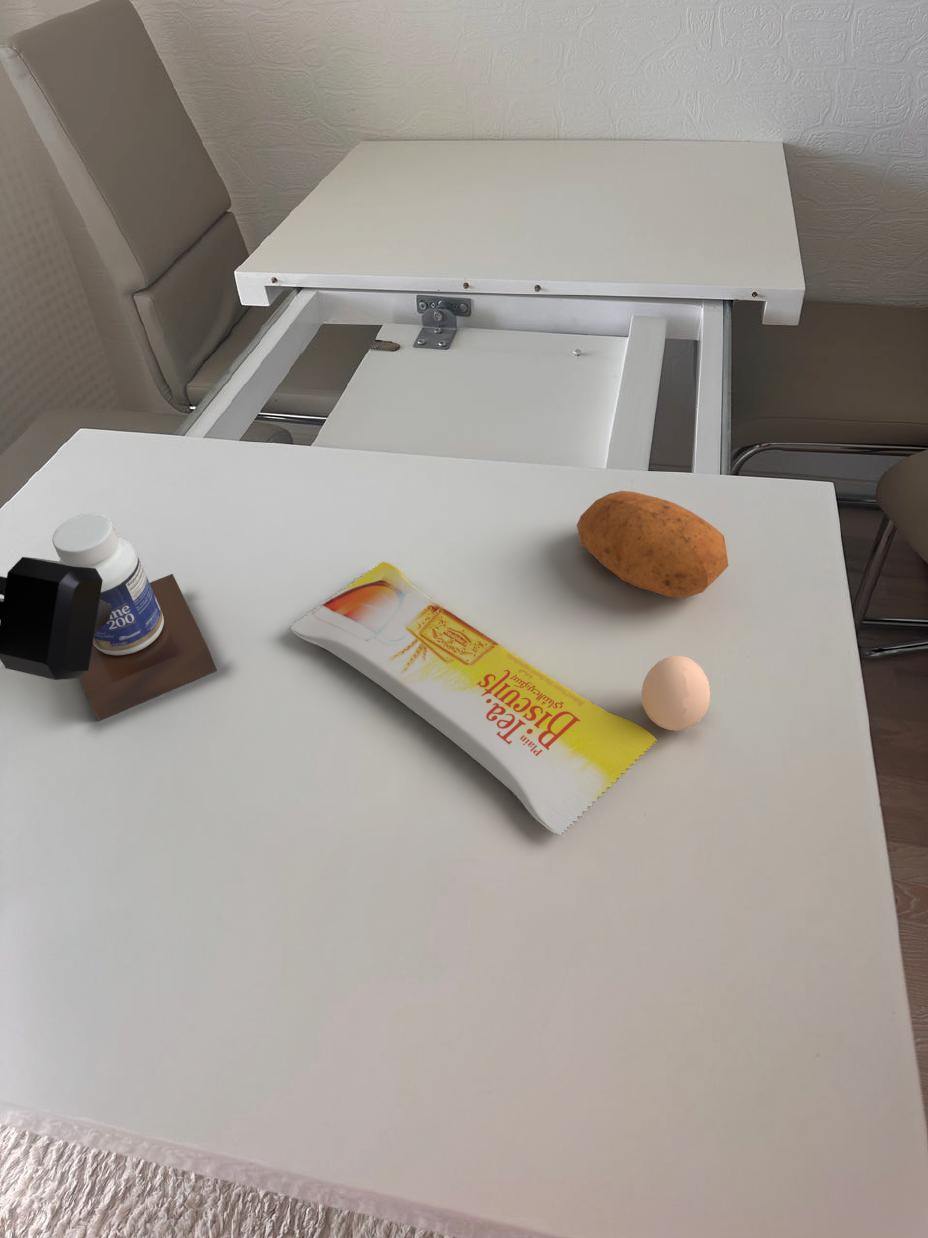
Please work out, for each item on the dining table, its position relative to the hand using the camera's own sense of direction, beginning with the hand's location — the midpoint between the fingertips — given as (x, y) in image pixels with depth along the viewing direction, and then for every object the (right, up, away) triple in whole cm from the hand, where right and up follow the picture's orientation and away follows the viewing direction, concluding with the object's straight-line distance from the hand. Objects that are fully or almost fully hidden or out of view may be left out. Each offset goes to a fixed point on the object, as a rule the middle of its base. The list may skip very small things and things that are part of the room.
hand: (49, 600), depth 62 cm
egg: (+41, -8, +3) cm, 42 cm away
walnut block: (+2, -4, +11) cm, 12 cm away
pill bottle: (+2, -2, +9) cm, 9 cm away
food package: (+27, -6, +6) cm, 28 cm away
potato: (+42, +3, +13) cm, 44 cm away
